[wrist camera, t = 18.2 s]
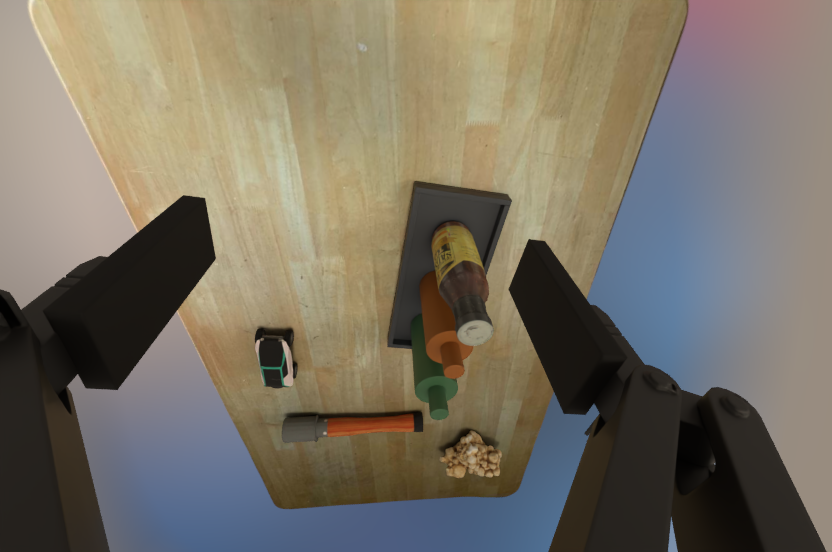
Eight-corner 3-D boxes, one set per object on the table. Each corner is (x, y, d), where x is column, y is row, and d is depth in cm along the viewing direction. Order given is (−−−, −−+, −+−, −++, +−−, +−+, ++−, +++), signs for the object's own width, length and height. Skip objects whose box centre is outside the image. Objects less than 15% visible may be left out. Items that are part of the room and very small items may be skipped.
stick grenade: (423, 419, 76) (279, 427, 73) (423, 440, 77) (281, 449, 75) (421, 404, 81) (286, 411, 78) (420, 424, 82) (288, 432, 80)
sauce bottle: (435, 216, 52) (455, 304, 35) (476, 222, 52) (514, 310, 36) (426, 254, 55) (440, 349, 39) (464, 259, 56) (494, 354, 40)
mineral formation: (466, 423, 84) (514, 442, 88) (434, 441, 92) (480, 458, 96) (467, 459, 78) (519, 477, 82) (433, 475, 86) (482, 491, 90)
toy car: (267, 370, 70) (258, 393, 65) (258, 325, 63) (248, 347, 58) (298, 371, 70) (292, 394, 66) (293, 326, 63) (285, 349, 59)
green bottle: (413, 310, 62) (420, 399, 47) (449, 313, 63) (467, 401, 48) (408, 336, 65) (412, 426, 51) (441, 339, 66) (456, 428, 52)
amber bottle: (423, 267, 57) (434, 352, 42) (461, 271, 58) (485, 356, 43) (416, 298, 60) (424, 386, 46) (452, 302, 61) (472, 389, 46)
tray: (414, 180, 49) (415, 187, 47) (507, 194, 51) (512, 200, 49) (387, 338, 66) (387, 347, 64) (457, 343, 68) (459, 352, 66)
